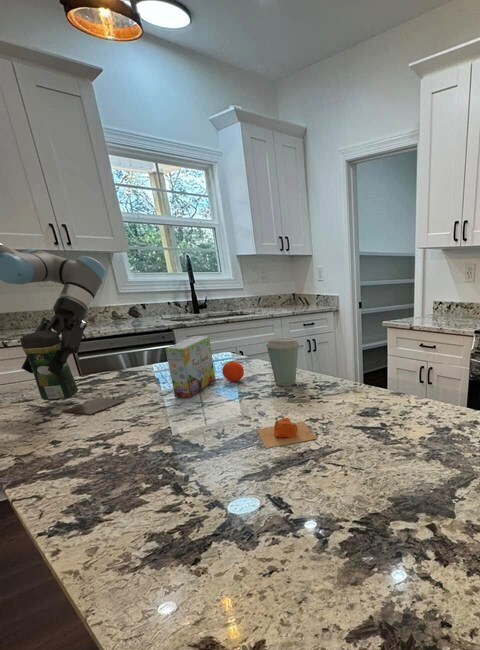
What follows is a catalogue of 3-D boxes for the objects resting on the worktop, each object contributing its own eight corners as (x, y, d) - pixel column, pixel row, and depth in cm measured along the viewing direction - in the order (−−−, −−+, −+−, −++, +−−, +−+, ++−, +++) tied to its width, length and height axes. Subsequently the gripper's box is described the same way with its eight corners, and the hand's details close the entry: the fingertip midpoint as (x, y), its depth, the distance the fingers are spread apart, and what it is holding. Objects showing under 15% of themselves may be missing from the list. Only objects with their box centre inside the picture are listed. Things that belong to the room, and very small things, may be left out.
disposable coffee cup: (274, 378, 146) (269, 335, 139) (305, 378, 145) (301, 335, 139) (266, 387, 136) (260, 341, 130) (299, 387, 136) (295, 341, 129)
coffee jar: (53, 392, 125) (30, 329, 117) (82, 390, 127) (62, 328, 119) (37, 402, 117) (11, 335, 109) (68, 400, 118) (45, 334, 110)
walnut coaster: (61, 412, 116) (61, 410, 116) (98, 399, 126) (98, 397, 126) (90, 415, 114) (90, 413, 113) (125, 401, 124) (125, 400, 124)
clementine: (217, 382, 142) (213, 361, 139) (231, 377, 148) (228, 357, 145) (235, 385, 139) (232, 364, 136) (249, 379, 145) (246, 359, 142)
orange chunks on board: (303, 421, 108) (302, 406, 106) (317, 439, 98) (316, 422, 96) (256, 429, 104) (254, 413, 102) (265, 448, 94) (263, 430, 92)
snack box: (192, 398, 127) (182, 348, 120) (174, 398, 127) (163, 348, 120) (217, 379, 146) (209, 335, 139) (201, 379, 146) (192, 335, 139)
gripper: (112, 313, 124) (82, 380, 116) (56, 312, 129) (23, 376, 121) (92, 296, 117) (58, 366, 110) (32, 295, 122) (-4, 362, 114)
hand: (39, 371), depth 115 cm, fingers closed on coffee jar, 9 cm apart
